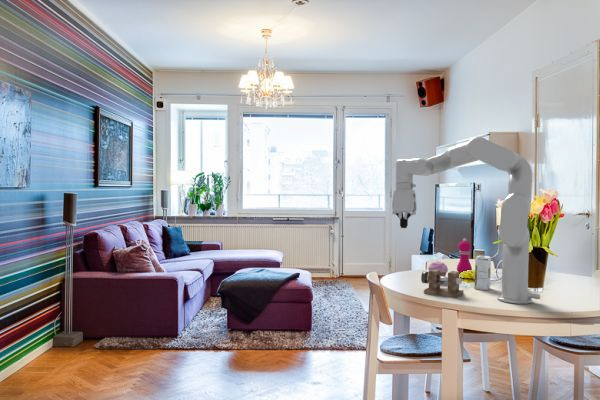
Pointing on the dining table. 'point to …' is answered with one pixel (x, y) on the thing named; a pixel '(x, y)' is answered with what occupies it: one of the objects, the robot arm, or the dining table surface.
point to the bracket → (436, 290)
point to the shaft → (439, 278)
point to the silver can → (482, 272)
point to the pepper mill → (464, 256)
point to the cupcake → (439, 268)
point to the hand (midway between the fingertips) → (403, 227)
